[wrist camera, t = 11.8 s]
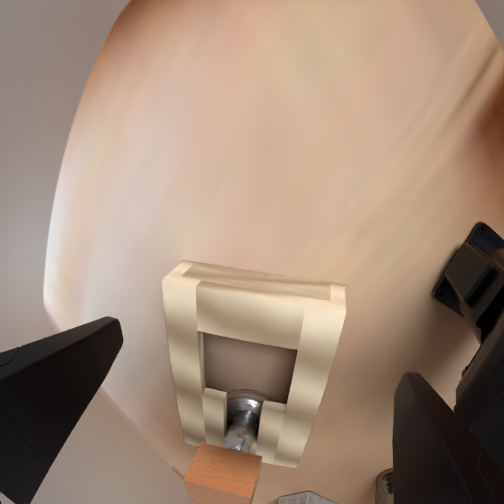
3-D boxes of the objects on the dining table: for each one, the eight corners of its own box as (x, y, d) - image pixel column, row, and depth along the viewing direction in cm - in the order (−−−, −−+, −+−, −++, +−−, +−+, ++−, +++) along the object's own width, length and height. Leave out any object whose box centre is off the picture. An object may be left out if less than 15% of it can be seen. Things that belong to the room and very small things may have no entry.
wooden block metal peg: (279, 395, 26) (252, 497, 16) (273, 425, 28) (248, 516, 18) (225, 384, 27) (182, 479, 17) (225, 415, 29) (189, 500, 19)
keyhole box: (183, 260, 23) (161, 280, 20) (344, 284, 21) (346, 311, 18) (195, 420, 31) (184, 443, 28) (301, 442, 29) (296, 468, 25)
